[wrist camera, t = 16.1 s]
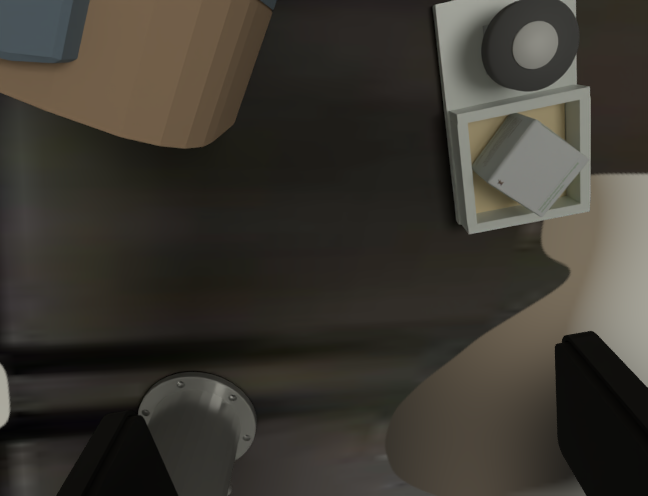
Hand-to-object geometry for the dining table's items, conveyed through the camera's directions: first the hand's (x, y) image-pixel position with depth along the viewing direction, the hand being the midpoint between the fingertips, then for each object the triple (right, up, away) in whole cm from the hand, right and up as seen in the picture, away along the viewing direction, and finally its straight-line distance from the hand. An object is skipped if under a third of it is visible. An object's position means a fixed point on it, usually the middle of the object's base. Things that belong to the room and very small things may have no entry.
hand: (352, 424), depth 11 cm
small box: (+15, +12, +30) cm, 36 cm away
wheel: (+14, +19, +26) cm, 35 cm away
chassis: (+15, +16, +30) cm, 37 cm away
